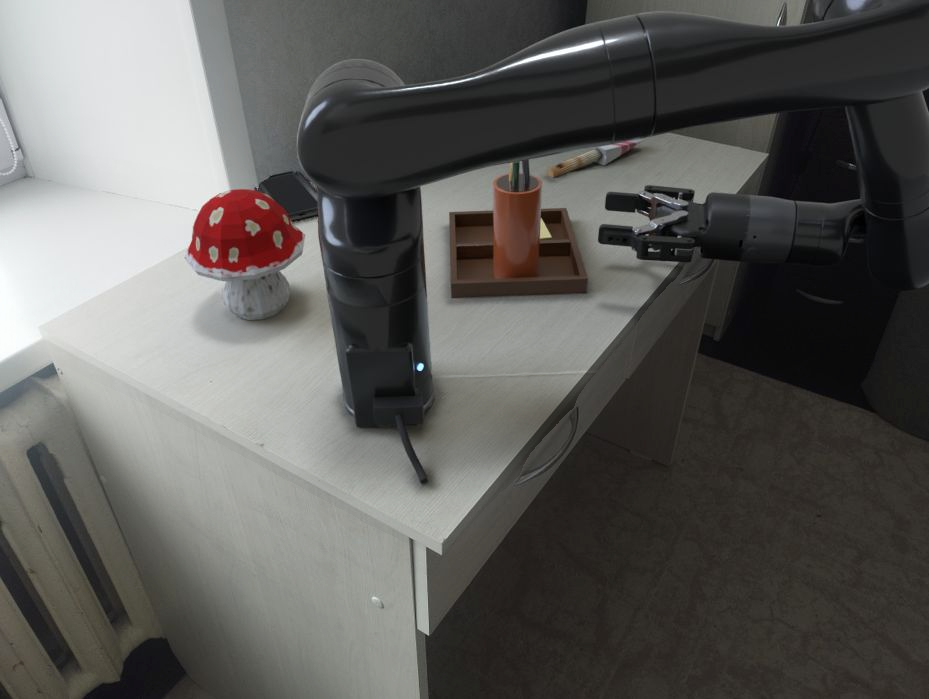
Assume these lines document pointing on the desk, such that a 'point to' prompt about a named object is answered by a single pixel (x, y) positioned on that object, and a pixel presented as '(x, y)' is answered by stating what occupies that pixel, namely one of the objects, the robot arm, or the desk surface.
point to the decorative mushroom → (246, 250)
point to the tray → (480, 282)
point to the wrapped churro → (593, 157)
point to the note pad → (544, 232)
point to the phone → (291, 194)
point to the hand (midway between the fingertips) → (602, 216)
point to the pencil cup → (516, 223)
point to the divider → (487, 249)
